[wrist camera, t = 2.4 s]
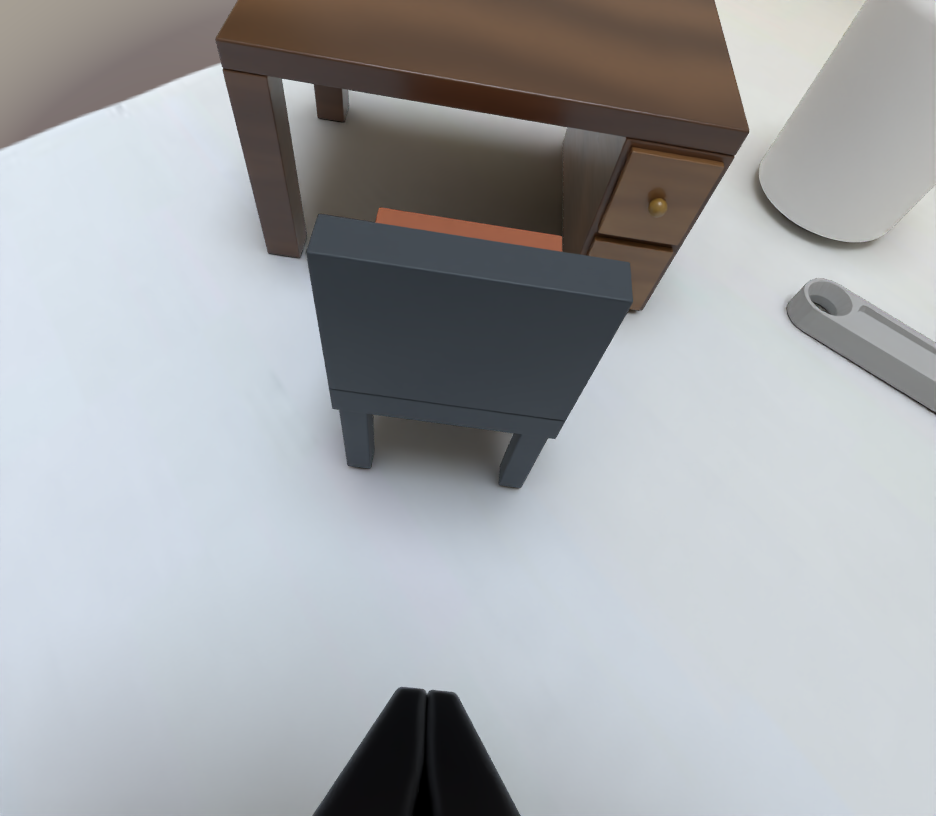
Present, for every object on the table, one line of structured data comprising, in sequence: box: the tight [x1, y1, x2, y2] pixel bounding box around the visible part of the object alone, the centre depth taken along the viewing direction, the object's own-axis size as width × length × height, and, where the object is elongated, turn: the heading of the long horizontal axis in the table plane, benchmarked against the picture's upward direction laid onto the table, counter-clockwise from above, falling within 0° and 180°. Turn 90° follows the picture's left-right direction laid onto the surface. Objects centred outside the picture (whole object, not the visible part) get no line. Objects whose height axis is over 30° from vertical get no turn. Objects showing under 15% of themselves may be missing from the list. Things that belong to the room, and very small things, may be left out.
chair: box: [306, 207, 633, 488], centre depth 18 cm, size 7×7×11 cm
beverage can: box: [759, 0, 936, 242], centre depth 28 cm, size 8×8×12 cm
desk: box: [216, 0, 749, 311], centre depth 26 cm, size 13×18×10 cm
